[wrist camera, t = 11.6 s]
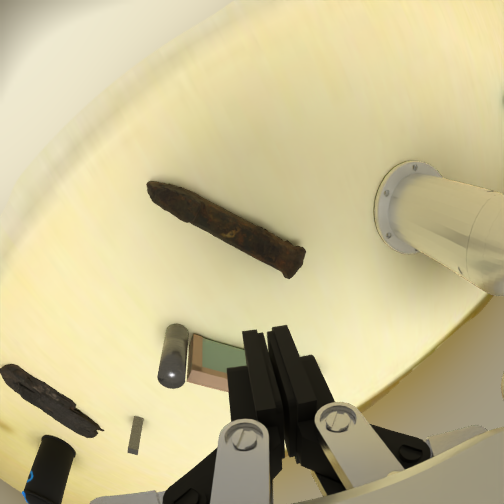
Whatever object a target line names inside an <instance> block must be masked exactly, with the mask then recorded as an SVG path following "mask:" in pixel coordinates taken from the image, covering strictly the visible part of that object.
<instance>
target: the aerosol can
mask: <svg viewBox="0 0 504 504" xmlns="http://www.w3.org/2000/svg"><path fill="white" fill-rule="evenodd" d="M75 455H76V454H75V451H74V449H73V448H72V447H71V446H70V445H69V444H67V443H66V442H64V441H63V440H61V439H59V438H56V437H54V436H49V435H46V436H43V437H42V442H41V445H40V447H39V450H38V452H37V455H36V458H35V460H34V463H33V466H32V469H31V471H30V474H29V477H28V480H27V483H26V486H25V489H24V491H22V494H23V496H24V497H25V500H26V502H27V503H28V504H61V502H62V498H63V494H64V490H65V486H66V483H67V479H68V475H69V472H70V468H71V465H72V461H73V458H74V457H75Z"/></svg>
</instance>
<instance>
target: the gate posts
mask: <svg viewBox="0 0 504 504" xmlns="http://www.w3.org/2000/svg"><path fill="white" fill-rule="evenodd" d="M188 335H189V333H188V330H187V329H186V328H185V327H184V326H183V325H180V324H172V325H170V326H169V327H168V328H167V330H166V334H165V339H164V344H163V349H162V355H161V360H160V366H159V371H158V381H159V382H160V384H162V385H163V386H165V387H167V388H172V389H175V388H179V387H181V386H182V385H183V384H184V383H185V374H186V360H187V347H188ZM142 424H143V418H140V417H136V416H134V420H133V425H132V430H131V435H130V441H129V446H128V453H131V454H135V455H138V449H139V443H140V436H141V430H142Z"/></svg>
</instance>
